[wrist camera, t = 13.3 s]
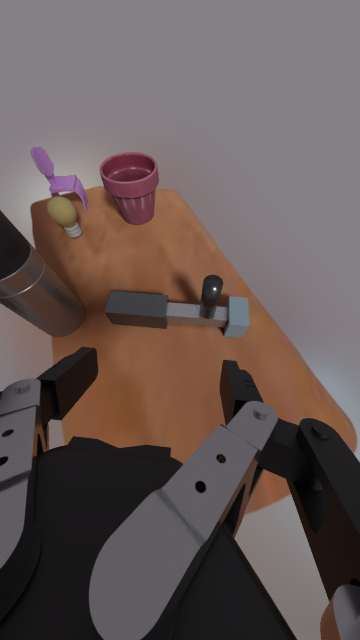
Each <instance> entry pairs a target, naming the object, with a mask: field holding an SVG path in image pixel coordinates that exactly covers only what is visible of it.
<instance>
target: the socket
mask: <svg viewBox="0 0 360 640" xmlns="http://www.w3.org/2000/svg"><path fill="white" fill-rule="evenodd" d="M226 307H228V317H229V322H228V324H227V327H226V328H224V336H225V337H236V338H242V337H243V335H244V334H245V332H246V331H247V329H248V328H249V326H250V325H249V309H248V298H241V297H229V299H228V302H227V305H226Z"/></svg>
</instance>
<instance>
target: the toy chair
mask: <svg viewBox="0 0 360 640" xmlns="http://www.w3.org/2000/svg"><path fill="white" fill-rule="evenodd" d="M31 155H32V158H33V160H34V162H35V164H36V166H37V168H38V169H39V171H40V172H41V173H42V174H44V175H45V177H46V178H47V180H48V181H49V182H50V184H51V186H50V189H49V190H50V191H51V196H52V198H53V197H57V196H59V193H58V192H61V191H74V192H76V193H77V194H78V195H79V196H80V197H81V199H82V201H83V204H84V209H85V213H86V211H87V205H88V199H87V196H86V193H85V191H84V188H83V186H82V184H81V182H80V180H79V179H78V178H77V176H76V175H70V176H58V177H55V176H54V174H53V171H54V166H53V163H52V161H51V160H50V158H49V156H48V154H47V153H46V152H45V150H44V149H43V148H41V147H34V148H33V149H31Z"/></svg>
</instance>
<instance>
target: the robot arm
mask: <svg viewBox="0 0 360 640" xmlns="http://www.w3.org/2000/svg"><path fill="white" fill-rule="evenodd" d="M0 303H1V304H2V305H4V306H6V307H7V308H9V309H10V310H12V311H13V312H15V313H16V314H18V315H19V316H21V317H23V318H24V319H26V320H27V321H29V322H30V323H32V324H33V325H35V326H36V327H38V328H39V329H41V330H43V331H44V332H46V333H47V334H49V335H51V336H64V335H67V334H70V333H72V332H73V331H75V330H76V329H77V328H78V327H79V326H80V325H81V324H82V322H83V320H84V318H85V308H84V306H83V304H82V303H81V302H80V301H79V300H78V299H77V297H76V296H75V295H74V294H73V293H72V292H71V290H70V289H69V288H68V287H67V286H66V285H65V283H64V282H63V281H62V280H61V279H60V278H59V277H58V275H57V274H56V273H55V272H54V271H53V270H52V268H51V267H50V266H49V265H48V264H47V263H46V262H45V260H44V259H43V258H42V257H41V256H40V255H39V254H38V252H37V251H36V250H35V249H34V248H33V247H32V245H31V244H30V243H29V242H28V241H27V240H26V239H25V237H24V236H23V235H22V234H21V233H20V232H19V231H18V230H17V229H16V228H15V226H14V225H13V224H12V223H11V222H10V221H9V220H8V219H7V217H6V216H5V215H4V214H3V213H2V212H1V210H0ZM97 374H98V363H97V351H96V349H95V348H89V347H81V348H80V349H79V350H77V351H76V352H75V353H74V354H71V355H69V356H67V357H64V358H63V359H61V360H60V361H59V362H58V363H56V364H55V365H53V367H51V368H49V369H48V370H47V371H45V372H44V373H43V374H41V375H40V376H39V377H37V378H36V379H25V380H21V381H18V382H15V383H13V384H11V385H9V386H8V387H6V388H5V389H4V391H1V392H0V640H297V639H296V637H295V635H294V634H293V632H292V630H291V629H290V627H289V626H288V624H287V623H286V621H285V619H284V618H283V616H282V614H281V613H280V611H279V610H278V608H277V607H276V605H275V603H274V602H273V600H272V598H271V597H270V595H269V594H268V592H267V590H266V589H265V587H264V586H263V584H262V582H261V581H260V579H259V577H258V576H257V574H256V573H255V571H254V570H253V568H252V566H251V565H250V563H249V561H248V560H247V558H246V557H245V555H244V553H243V552H242V550H241V549H240V547H239V546H238V544H237V542H236V541H235V539H234V538H235V536H236V534H237V531H238V529H239V527H240V524H241V522H242V519H243V517H244V514H245V511H246V508H247V506H248V503H249V501H250V499H251V497H252V495H253V493H254V491H255V489H256V486H257V484H258V482H259V480H260V478H261V476H262V474H263V472H264V469H265V470H267V471H270V472H272V473H274V474H276V475H279V476H281V477H283V478H286V480H287V483H288V486H289V489H290V492H291V495H292V497H293V500H294V503H295V506H296V508H297V511H298V514H299V517H300V520H301V523H302V526H303V528H304V531H305V534H306V537H307V540H308V542H309V546H310V548H311V551H312V554H313V557H314V560H315V563H316V565H317V568H318V571H319V574H320V577H321V580H322V582H323V585H324V588H325V591H326V594H327V597H328V599H329V604H328V606H327V607H326V609H325V611H324V613H323V615H322V617H321V623H320V632H321V640H360V462H359V461H358V460H357V458H356V457H355V455H354V454H353V453H352V451H351V450H350V449H349V447H348V446H347V445H346V443H345V442H344V441H343V439H342V438H341V437H340V435H339V434H338V433H337V432H336V431H335V430H334V429H333V428H332V427H330V426H329V425H327V424H325V423H323V422H321V421H319V420H316V419H311V418H305V419H303V420H301V422H300V424H299V425H296V424H293V423H290V422H287V421H284V420H281V419H279V418H278V416H277V414H276V412H275V411H274V410H273V409H272V408H271V407H270V406H268V405H266V404H264V402H263V400H262V398H261V396H260V394H259V392H258V389H257V387H256V385H255V383H254V381H253V379H252V377H251V375H250V374H249V373H248V372H247V371H246V370H240V369H239V367H238V364H237V362H236V361H231V360H223V364H222V371H221V379H220V395H221V401H222V407H223V412H224V418H225V423H226V427H225V426H224V425H222V424H220V425H219V426H218V427H217V428H216V429H215V430H214V431H213V432H212V433H211V434H210V435H209V437H208V438H207V439H206V440H205V441H204V442H203V443H202V444H201V446H200V447H199V448H198V449H197V450H196V451H195V452H194V453H193V454H192V456H191V457H190V458H189V459H188V460H187V461H186V462H185V463H184V464H182V463H181V462H180V461H178V460H176V459H174V458H172V457H170V454H171V448H168V447H160V446H151V445H142V446H133V447H125V448H117V447H115V446H112V445H110V444H107V443H105V442H103V441H100V440H98V439H92V438H83V437H75V436H73V438H72V439H71V441H70V442H69V444H68V445H65V446H61V447H57V448H53V449H51V450H49V425H48V422H49V421H50V420H51V419H54V420H62V419H63V418H64V417H65V415H66V414H67V413H68V412H69V411H70V409H71V408H72V407H73V406H74V405H75V403H76V402H77V401H78V400H79V399H80V397H81V396H82V395H83V394H84V393H85V391H86V390H87V389H88V388H89V387H90V386H91V384H92V383H93V382H94V381H95V379H96V377H97Z"/></svg>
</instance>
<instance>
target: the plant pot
mask: <svg viewBox="0 0 360 640" xmlns="http://www.w3.org/2000/svg"><path fill="white" fill-rule="evenodd" d="M100 175H101V178H102V181H103V184H104V187H105V189H106V190H107V192H109V193H110V194H111V195H112V197H113V199H114V201H115V203H116V205H117V206H118V208H119V210H120V212H121V214H122V216H123V218H124V219H125V221H126V222H128V223H130V224H134V225H140V224H144V223H147V222H149V221H150V220H151V219H152V218H153V215H154V204H155V189H156V187H157V185H158V181H159V178H158V169H157V163H156V161H155V160H154V159H153V158H152V157H151V156H148V155H146V154H143V153H136V152H130V153H129V152H128V153H121V154H116V155H114V156H111V157H109V158H107V159H106V160H105V161H104V162H103V163H102V164H101V166H100Z"/></svg>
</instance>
